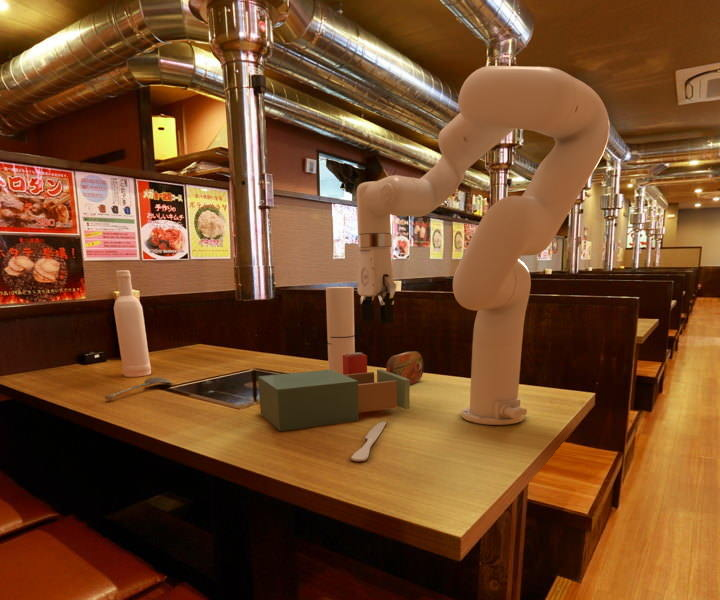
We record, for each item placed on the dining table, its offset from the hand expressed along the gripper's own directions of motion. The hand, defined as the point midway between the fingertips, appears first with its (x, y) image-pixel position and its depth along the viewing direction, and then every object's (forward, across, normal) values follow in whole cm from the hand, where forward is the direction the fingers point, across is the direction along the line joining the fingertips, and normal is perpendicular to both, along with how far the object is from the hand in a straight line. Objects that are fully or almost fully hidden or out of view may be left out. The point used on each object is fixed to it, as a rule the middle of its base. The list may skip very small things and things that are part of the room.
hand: (376, 322), depth 129 cm
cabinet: (+18, +10, -21) cm, 29 cm away
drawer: (+17, +10, -8) cm, 21 cm away
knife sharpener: (+18, -6, -3) cm, 19 cm away
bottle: (+16, -61, -51) cm, 82 cm away
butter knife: (+18, +31, -16) cm, 39 cm away
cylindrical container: (+18, -20, -1) cm, 27 cm away
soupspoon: (+17, -34, -52) cm, 65 cm away
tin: (+18, -10, +13) cm, 24 cm away
